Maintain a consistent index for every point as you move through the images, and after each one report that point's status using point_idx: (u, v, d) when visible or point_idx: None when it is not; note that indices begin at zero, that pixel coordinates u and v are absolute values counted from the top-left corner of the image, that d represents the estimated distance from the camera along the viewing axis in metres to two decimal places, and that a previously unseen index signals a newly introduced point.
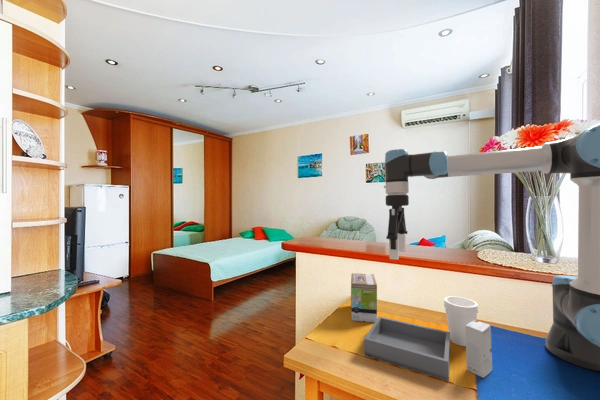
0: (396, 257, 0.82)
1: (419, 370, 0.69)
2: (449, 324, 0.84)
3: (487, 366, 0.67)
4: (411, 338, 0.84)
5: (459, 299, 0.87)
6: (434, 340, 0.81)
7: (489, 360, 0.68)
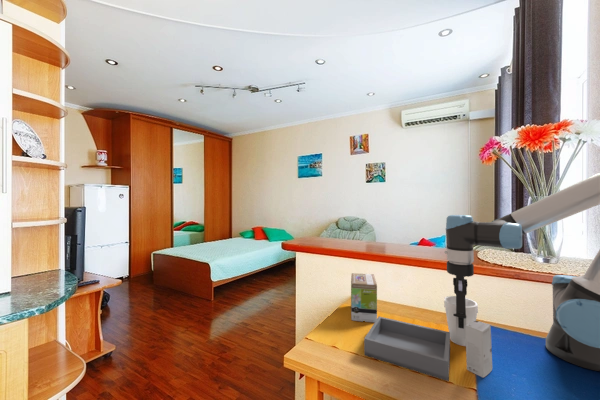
0: (464, 336, 0.79)
1: (419, 370, 0.69)
2: (449, 324, 0.84)
3: (487, 366, 0.67)
4: (411, 338, 0.84)
5: None
6: (434, 340, 0.81)
7: (489, 360, 0.68)
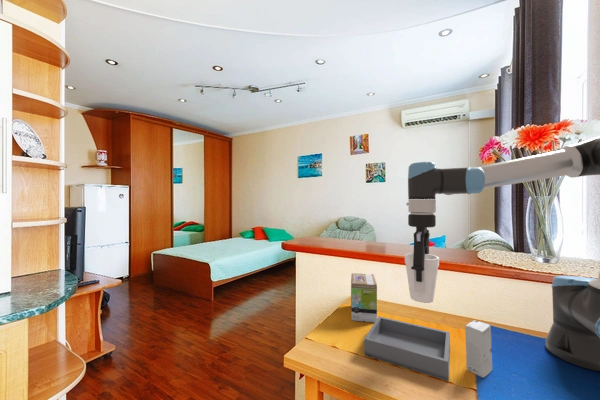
0: (422, 290, 0.72)
1: (419, 370, 0.69)
2: (409, 280, 0.78)
3: (487, 366, 0.67)
4: (411, 338, 0.84)
5: None
6: (434, 340, 0.81)
7: (489, 360, 0.68)
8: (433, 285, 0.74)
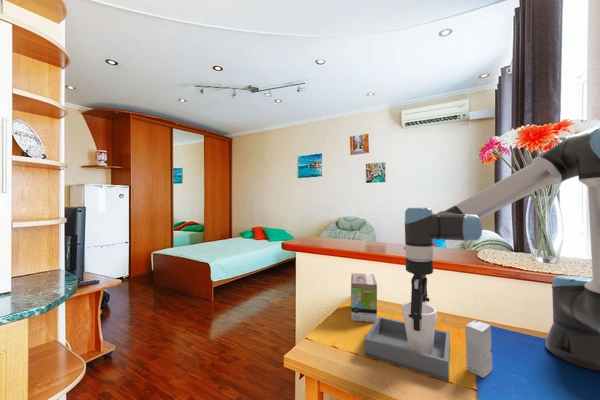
0: (420, 339, 0.70)
1: (419, 370, 0.69)
2: (407, 333, 0.77)
3: (487, 366, 0.67)
4: None
5: None
6: (434, 340, 0.81)
7: (489, 360, 0.68)
8: (431, 339, 0.73)
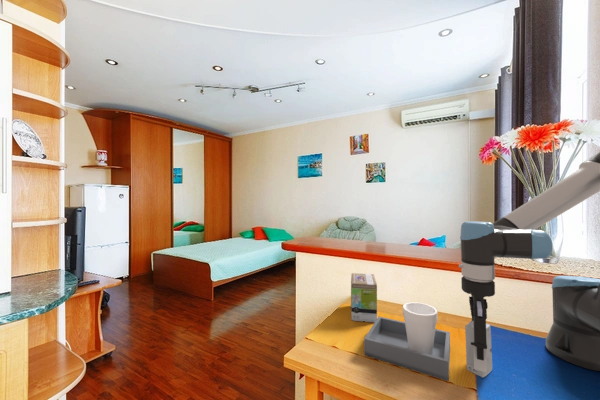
0: (484, 369, 0.66)
1: (419, 370, 0.69)
2: (407, 333, 0.76)
3: (487, 366, 0.67)
4: None
5: (420, 306, 0.80)
6: (434, 340, 0.81)
7: (489, 360, 0.68)
8: (432, 340, 0.73)
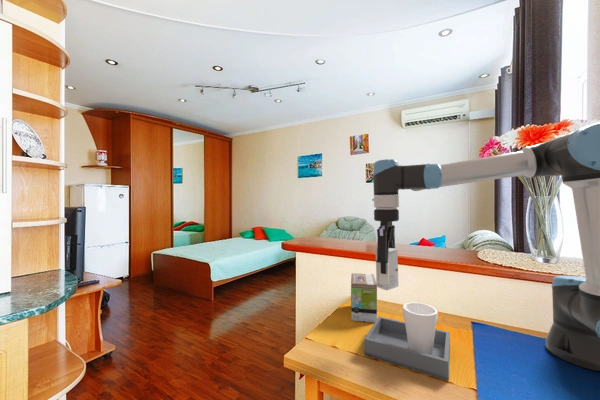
0: (386, 282, 0.77)
1: (419, 370, 0.69)
2: (407, 333, 0.76)
3: (391, 282, 0.79)
4: None
5: (420, 306, 0.80)
6: (434, 340, 0.81)
7: (394, 277, 0.80)
8: (432, 340, 0.73)
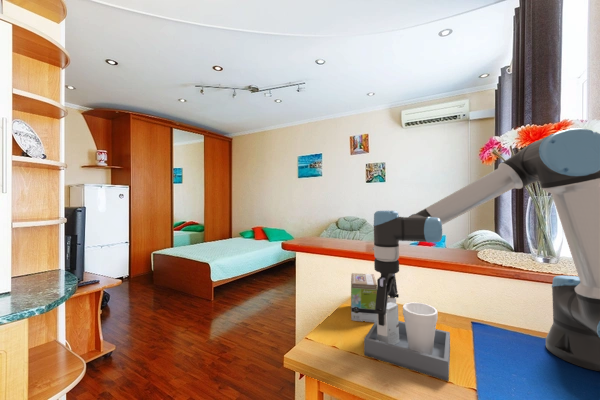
0: (384, 333, 0.75)
1: (419, 370, 0.69)
2: (407, 333, 0.76)
3: (392, 339, 0.80)
4: None
5: (420, 306, 0.80)
6: (434, 340, 0.81)
7: (395, 334, 0.81)
8: (432, 340, 0.73)
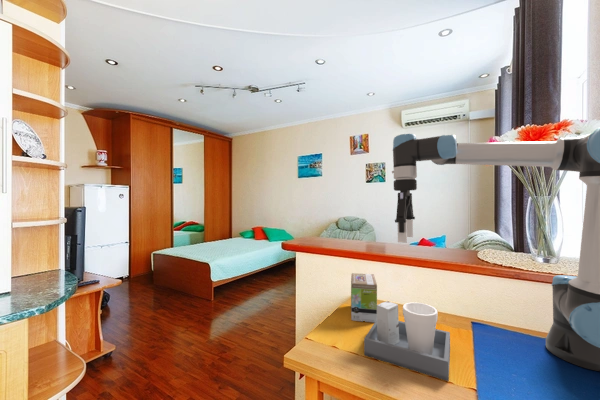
0: (404, 240, 0.83)
1: (419, 370, 0.69)
2: (407, 333, 0.76)
3: (392, 339, 0.80)
4: None
5: (420, 306, 0.80)
6: (434, 340, 0.81)
7: (395, 334, 0.81)
8: (432, 340, 0.73)
